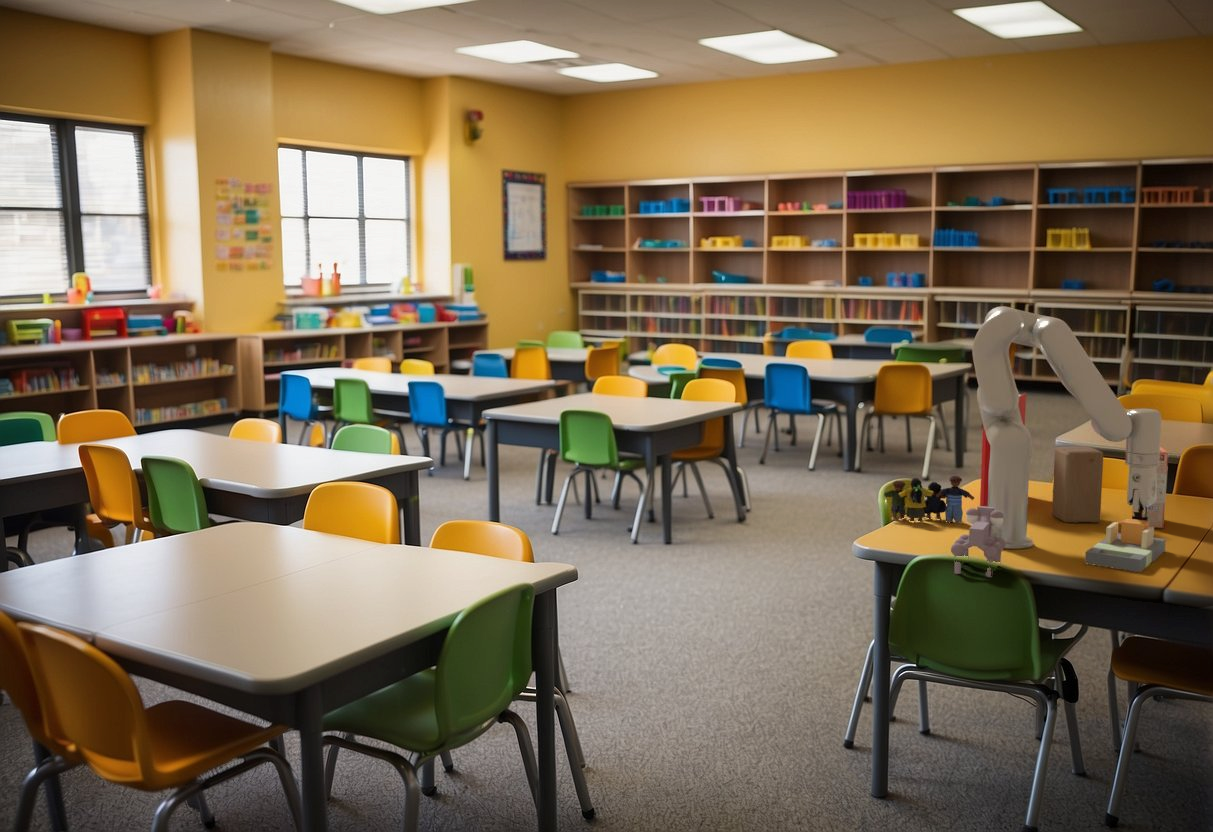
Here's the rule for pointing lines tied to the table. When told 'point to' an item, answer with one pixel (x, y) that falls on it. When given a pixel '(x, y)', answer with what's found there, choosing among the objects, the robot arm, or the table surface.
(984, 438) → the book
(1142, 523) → the cube
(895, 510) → the doll family
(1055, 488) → the wooden block
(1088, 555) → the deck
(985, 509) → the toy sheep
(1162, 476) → the cracker box
